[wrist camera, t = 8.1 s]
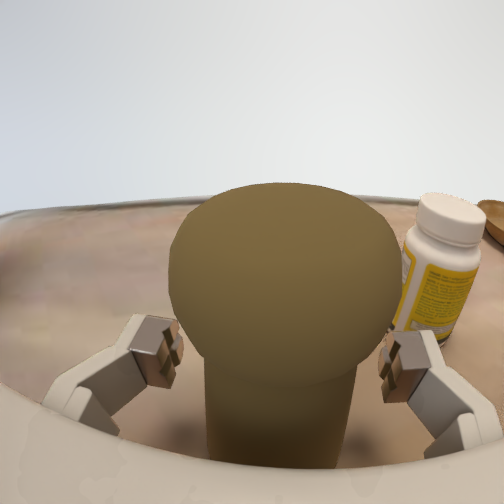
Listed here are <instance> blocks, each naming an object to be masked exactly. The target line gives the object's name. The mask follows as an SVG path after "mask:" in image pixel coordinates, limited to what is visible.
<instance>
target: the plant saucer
mask: <svg viewBox="0 0 504 504" xmlns="http://www.w3.org/2000/svg"><path fill="white" fill-rule="evenodd" d="M477 206H478V208H480V209H481V210H482V211H483V212H484V213H485V215H486V224H485V227H486V229H487V230H488V232H489V233H490V235H491V236H492V237H493V238H494V239H495V240H496V241H498V242H499V243H500V244H501V245H503V246H504V202H501V201H496V200H482V201H480V202H478V204H477Z"/></svg>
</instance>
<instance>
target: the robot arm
mask: <svg viewBox="0 0 504 504" xmlns="http://www.w3.org/2000/svg"><path fill="white" fill-rule="evenodd" d="M179 328H180V327H179V324H178V321H177V320H175V319H170V318H163V317H157V316H151V315H143V314H137V313H135V314H134V315H132V316H131V318H130V319H129V321H128V323H127V324H126V326H125V328H124V329H123V331H122V332H121V334H120V336H119V337H118V339H117V341H116V342H115V344H114V346H108V347H107V348H105V349H103V350H102V351H100V352H98V353H96V354H95V355H93V356H91V357H90V358H88V359H86V360H84V361H83V362H81V363H79V364H78V365H76V366H74V367H73V368H71V369H69V370H67V371H66V372H64V373H62V374H61V375H59V376H57V378H56V379H55V381H54V383H53V384H52V386H51V388H50V389H49V391H48V392H47V394H46V396H45V397H44V399H43V401H42V403H41V404H39V403H37V402H35V401H33V400H31V399H29V398H27V397H25V396H23V395H22V394H20V393H18V392H16V391H15V390H13V389H11V388H9V387H8V386H6V385H4V384H3V383H1V382H0V504H504V434H503V431H502V427H501V424H500V421H499V417H498V414H497V411H496V408H495V406H494V405H493V404H492V403H491V402H490V401H489V400H488V399H487V398H486V397H484V396H483V395H482V394H481V393H480V392H479V391H478V390H477V389H475V388H474V387H473V386H472V385H471V384H470V383H469V382H467V381H466V380H465V379H464V378H463V377H462V376H461V375H459V374H458V373H457V372H456V371H455V370H454V369H453V368H451V367H446V364H445V361H444V358H443V356H442V353H441V350H440V348H439V345H438V343H437V340H436V338H435V335H434V333H433V331H432V330H417V331H416V330H414V331H390V332H389V333H388V334H387V336H386V339H385V341H386V346H385V347H384V348H382V349H381V352H380V355H379V361H378V371H379V376H380V377H381V378H382V379H383V380H384V382H383V384H382V386H381V389H382V395H383V401H384V403H400V402H407V404H408V405H409V407H410V408H411V409H412V410H413V412H414V413H415V414H416V415H417V417H418V418H419V419H420V420H421V422H422V423H423V424H424V426H425V427H426V428H427V429H428V431H429V432H430V433H431V435H432V436H433V437H434V438H435V441H434V442H433V443H432V444H431V445H430V446H429V447H428V448H427V449H426V450H425V451H424V458H425V459H423V460H417V461H412V462H405V463H398V464H391V465H382V466H373V467H361V468H344V469H290V468H272V467H260V466H250V465H241V464H234V463H226V462H220V461H214V460H208V459H202V458H197V457H192V456H187V455H183V454H178V453H174V452H170V451H165V450H161V449H158V448H154V447H150V446H147V445H143V444H140V443H136V442H133V441H130V440H127V439H123V438H120V437H117V436H118V434H119V431H120V429H119V427H118V425H117V424H116V423H115V422H114V421H113V419H112V418H111V416H113V415H114V414H115V413H116V412H117V411H119V410H120V409H121V408H122V407H123V406H125V405H126V404H127V403H128V402H129V401H131V400H132V399H133V398H134V397H135V396H137V395H138V394H139V393H140V392H141V391H143V390H144V389H145V388H146V387H147V385H150V386H155V387H160V388H166V389H171V386H172V384H173V381H174V378H175V376H176V372H175V369H174V368H175V367H176V366H177V365H179V364H180V363H181V360H182V357H183V351H184V344H183V339H182V337H181V336H180V335H179V334H178V331H179Z"/></svg>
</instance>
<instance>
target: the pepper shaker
mask: <svg viewBox="0 0 504 504" xmlns="http://www.w3.org/2000/svg"><path fill="white" fill-rule="evenodd" d="M168 280H169V295H170V299H171V303H172V307H173V311H174V314H175V316H176V318H177V319H178V321H179V323H180V324H181V326H182V328H183V330H184V331H185V333H186V335H187V336H188V338H189V339H190V341H191V342H192V344H193V345H194V347H195V348H196V350H197V351H198V353H199V354H200V355H201V356H202V357H204V372H205V406H206V429H207V446H208V451H209V456H210V460H214V461H220V462H226V463H234V464H241V465H250V466H260V467H272V468H290V469H334V468H335V466H336V464H337V460H338V457H339V454H340V450H341V447H342V442H343V438H344V434H345V429H346V425H347V420H348V415H349V410H350V405H351V400H352V394H353V389H354V383H355V377H356V370H357V365H358V364H359V363H361V362H362V361H363V360H365V359H366V358H367V357H368V356H369V355H370V354H371V353H372V352H373V350H374V349H375V348H376V347H377V345H378V344H379V343H380V342H381V340H382V338H383V337H384V335H385V333H386V331H387V330H388V328H389V326H390V324H391V323H392V321H393V319H394V317H395V314H396V311H397V309H398V306H399V303H400V300H401V297H402V256H401V250H400V247H399V245H398V242H397V239H396V237H395V234H394V231H393V230H392V228H391V227H390V225H389V224H388V222H387V221H386V220H385V218H384V217H383V216H382V215H381V214H379V213H378V212H377V211H375V210H374V209H373V208H371V207H370V206H369V205H367V204H366V203H364V202H363V201H361V200H360V199H358V198H356V197H354V196H351V195H349V194H346V193H344V192H342V191H338V190H334V189H330V188H326V187H322V186H317V185H309V184H300V183H266V184H255V185H249V186H244V187H240V188H235V189H231V190H228V191H226V192H223V193H221V194H218V195H215V196H213V197H212V198H210V199H209V200H207V201H206V202H204V203H203V204H201V205H200V206H198V207H197V208H196V209H194V210H193V211H191V212H190V213H189V214H188V215H187V217H186V218H185V220H184V221H183V223H182V224H181V226H180V228H179V230H178V232H177V234H176V236H175V238H174V241H173V243H172V245H171V247H170V256H169V269H168Z"/></svg>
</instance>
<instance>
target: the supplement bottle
mask: <svg viewBox="0 0 504 504" xmlns="http://www.w3.org/2000/svg"><path fill="white" fill-rule="evenodd" d="M485 224H486V215H485V213H484V212H483V211H482V210H481V209H480V208H478V207H477V206H475V205H474V204H472V203H470V202H468V201H466V200H463V199H461V198H458V197H455V196H452V195H447V194H442V193H426V194H424V195H422V196H421V198H420V201H419V205H418V210H417V214H416V225H414V226H412V227H411V228H410V229H409V231H408V232H407V235H406V237H405V241H404V246H403V250H402V255H401V256H402V297H401V300H400V303H399V306H398V309H397V311H396V314H395V317H394V319H393V321H392V323H391V324H390V326H389V328H388V330H387V331H388V332H390V331H414V330H416V331H417V330H432V331H433V333H434V335H435V338H436V340H437V343H438V345H439V347H441V346H442V345H443V344H444V343H445V342H446V341H447V339H448V337H449V336H450V334H451V332H452V329H453V328H454V325H455V323H456V321H457V319H458V317H459V315H460V313H461V310H462V308H463V306H464V303H465V301H466V299H467V296H468V294H469V291H470V289H471V286H472V284H473V281H474V279H475V276H476V273H477V271H478V268H479V265H480V261H481V252H480V249H479V247H478V245H479V244H480V242H481V239H482V236H483V232H484V228H485Z"/></svg>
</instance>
